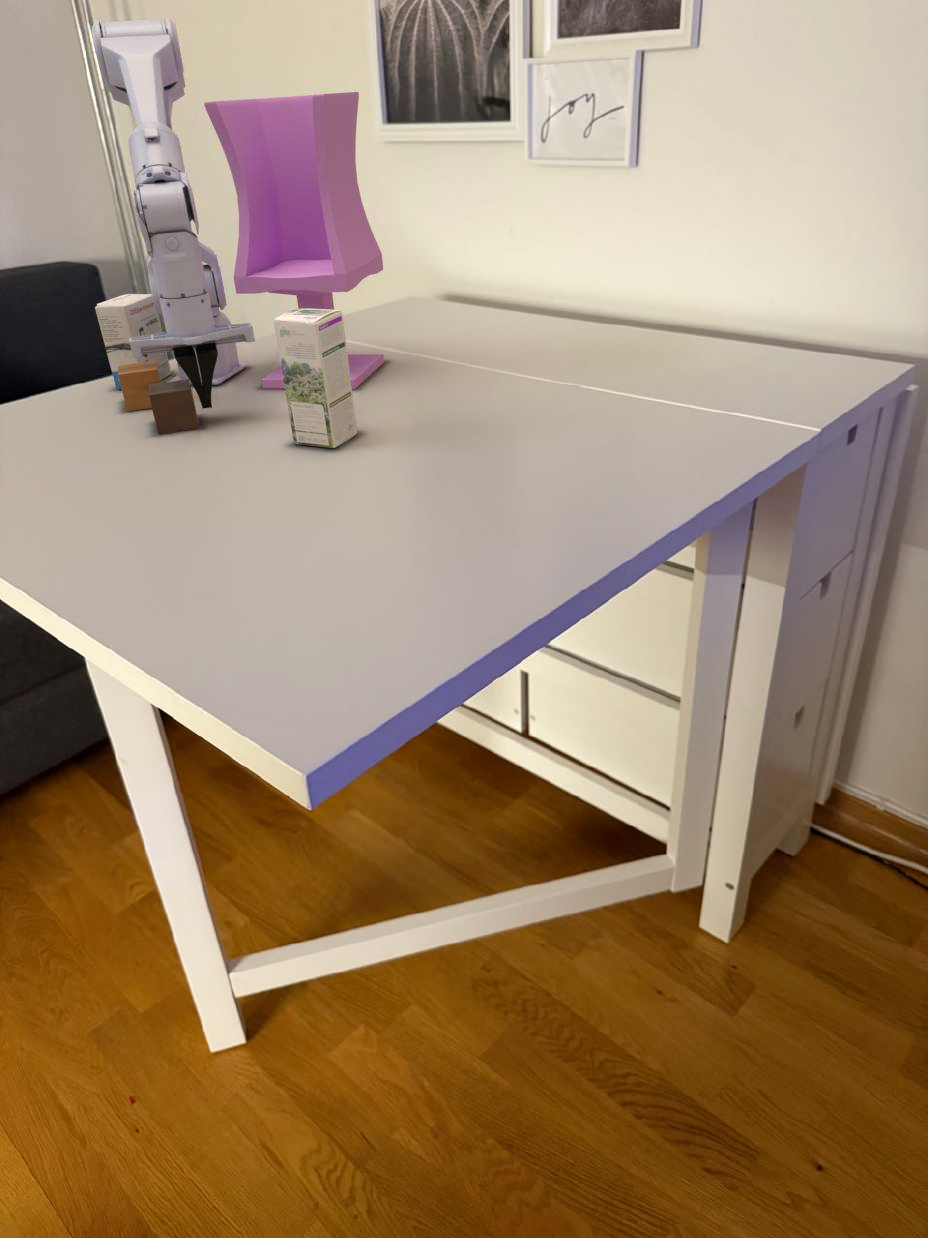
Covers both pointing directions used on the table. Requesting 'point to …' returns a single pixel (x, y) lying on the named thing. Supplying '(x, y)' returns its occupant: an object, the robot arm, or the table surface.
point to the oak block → (138, 383)
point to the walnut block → (173, 406)
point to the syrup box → (316, 376)
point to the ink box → (129, 331)
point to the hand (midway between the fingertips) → (206, 406)
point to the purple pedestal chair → (298, 203)
